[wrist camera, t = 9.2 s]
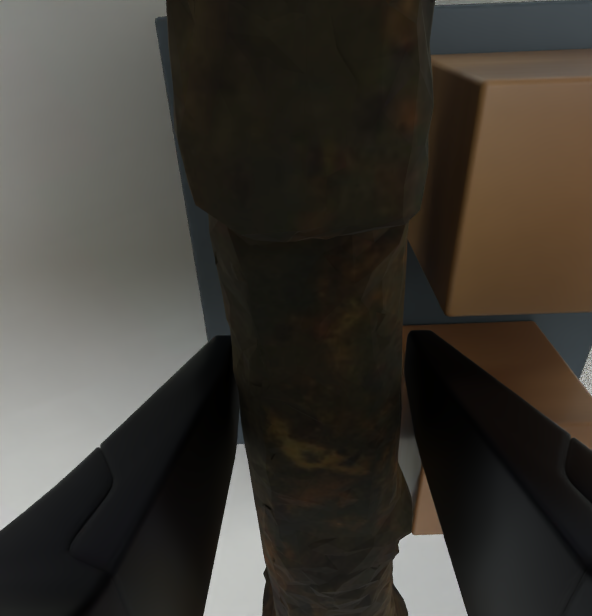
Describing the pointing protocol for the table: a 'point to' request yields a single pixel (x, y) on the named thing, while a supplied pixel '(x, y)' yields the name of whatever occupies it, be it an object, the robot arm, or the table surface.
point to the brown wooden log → (312, 266)
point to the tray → (418, 293)
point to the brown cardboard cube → (509, 184)
